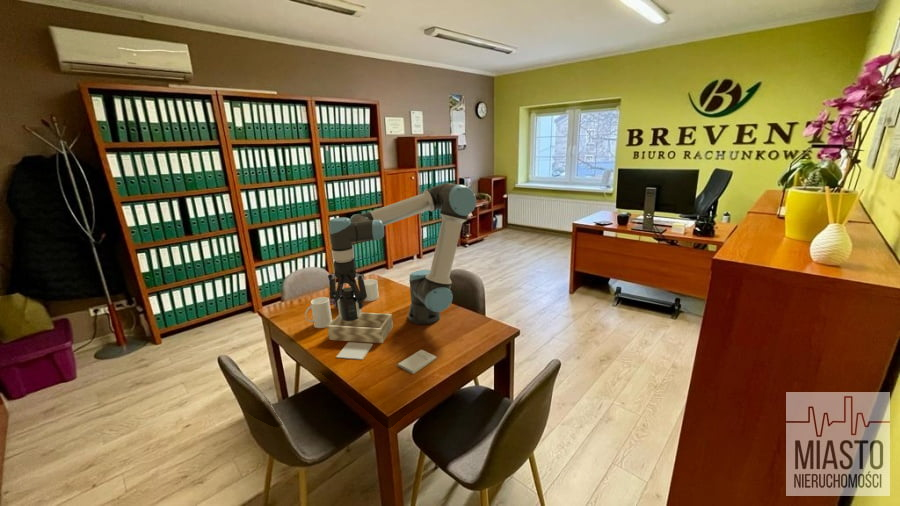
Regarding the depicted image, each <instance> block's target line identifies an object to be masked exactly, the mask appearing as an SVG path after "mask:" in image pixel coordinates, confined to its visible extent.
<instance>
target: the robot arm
mask: <svg viewBox="0 0 900 506" xmlns="http://www.w3.org/2000/svg"><path fill="white" fill-rule="evenodd" d="M476 207H477V197H476V194H475V192H474V191H473V190H472V188H470V187H469V186H466V185H464V184H457V183H451V182H445V183H442V184H438V185H435V186H433V187H431V188H428V189H425V190H423V192H422V193H420V194H418V195H414V196H412V197H408V198H405V199H403V200H400V201H398V202H397V201H396V202H394V203H392V204H391V203H390V204H388V205H386V206H383V207H379V208H376V209H373V210H371V211H367V212H364V213H357V214H352V216H350V218H349V217H343V216H342V217H336V218H335V217H334V218H331V219H330V220H329V222H328V227H329V237H330V244H331V251H332V260H333V267H334V273H333V272H330V273H329V274H328V275H327V278H328V281H329V292H330V295H329V298H331V299H334V300H335V302H336V307H337V308H336V309H338V315H339V316H342V315H341V307H340V296H341V290H342V289H343V288H344V284H347V285H348V287H351V288H352V290H353V292H354V294H355V297H356V299H357V301H356V310H357V317H360V316H361V315H362V313H363V311H362V309H363V307H364V304H363V303H364V300H365V299H366V298H367V294H366V289H365V284H364V280H365V279H364V278H365V274H363V273H361V274H360V273H358V272H357V271H356V263H355V254H354V243H362V242H369V241H376V240H381V239H383V238H384V237H385V226H388V225H390V224H393V223H396V222H400V221H403V220H404V219H407V218H410V217H412V216H416V215H419V214H421V213H425V212H427V211H429V212H434V211H438V210H440V212H439V214H440V216H441V218H442V219H441V224H440V227H439V232H438V237H437V241H436V244H435V245H436V246H435V248H434V253H433V257H432V262H431V266H430V267H431V268H430V269H420V270H415V271H413V272H411V273H410V274H409V279H408V280H409V281H408V282H409V292H410V293H409V294H410V306H409V311H408V315H407V316H408V321H409V322H410V323H413V324H416V325H430V324H433V323H436V322H437V321H439V320H440V318H441V312H443V311H445V310H446V309H448V308H449V307H450V306H451V304H452V303H453V297H454V296H453V292H452V290H451V287H452V284H453V283H452V282H453V281H452V280H451V278H450V276H451V272H452V268H453V263H454V260H455V255H456V252H457V248H458V243H459V239H460V235H461V231H462V227H463V224H464V223H466V222H467V221H468V217H469V215H470V214H471V213H472V212H474V211H475V209H476ZM336 279H337V287H336ZM356 280H357V281H356ZM438 319H439V320H438Z"/></svg>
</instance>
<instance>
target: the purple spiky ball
mask: <svg viewBox="0 0 900 506" xmlns="http://www.w3.org/2000/svg"><path fill="white" fill-rule="evenodd" d="M344 288H347V287H346V286H343V288H342V289H344ZM328 296H330V291H329V293H328ZM341 296H342V295H341ZM341 296H340V297H341ZM328 298H329V302H330V306H333V308H334V309H338V308H337V307H336V302H335V300H334V299H331V298H330V297H328Z"/></svg>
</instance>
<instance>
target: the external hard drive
mask: <svg viewBox="0 0 900 506" xmlns="http://www.w3.org/2000/svg"><path fill="white" fill-rule="evenodd" d="M434 359H435V360H436V359H437V356H436V355H435V354H432V353H430V352H428V351H426V350H424V349H420V350H418V351H417V352H414V353H413V354H412V355H410V356H408V357H407V358H405V359H403V360H402V361H400V362H399V363H397V367H399V368H401V369H403V370H404V371H405V372H406V371H407V372H408V373H410V374H412V375H414V374H416V373H417V372H418V371H420V370H422V369H423V368H425V367H427V365H429V364H430V363H432V362H433V361H435V360H434Z"/></svg>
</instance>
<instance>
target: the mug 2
mask: <svg viewBox="0 0 900 506" xmlns="http://www.w3.org/2000/svg"><path fill="white" fill-rule="evenodd" d="M363 280H364V284H365V289H366V294H367V298H366V299H365V300H363V302H373V301H376V300H378V299H379V296H380V294H379V285H378V280H377V279H375V278H368V279H363Z"/></svg>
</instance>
